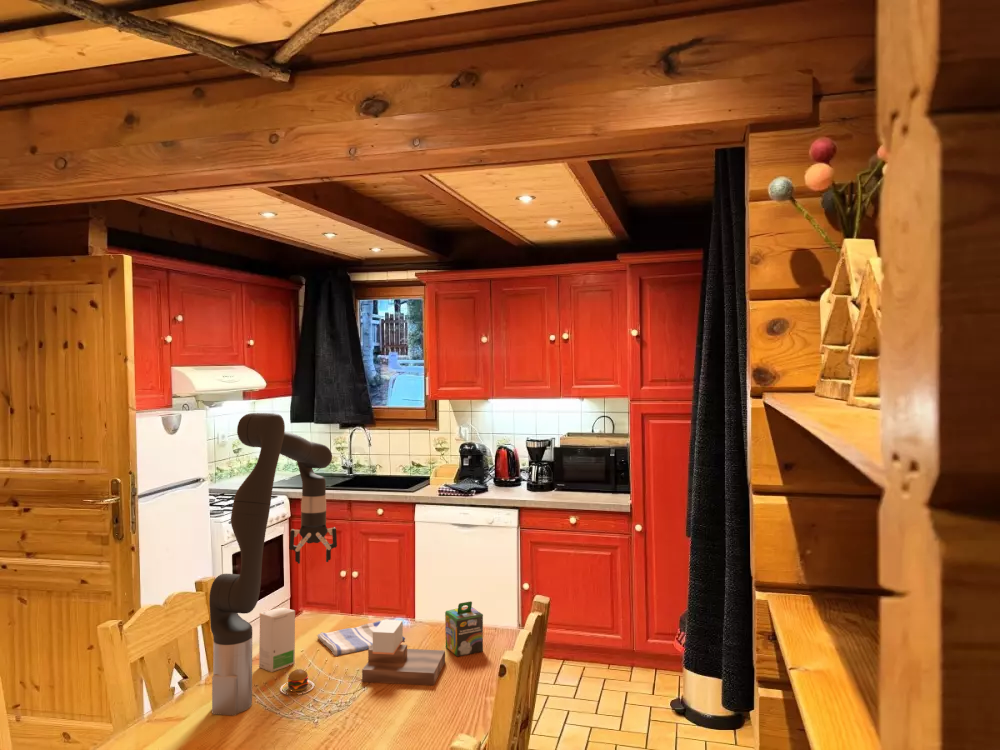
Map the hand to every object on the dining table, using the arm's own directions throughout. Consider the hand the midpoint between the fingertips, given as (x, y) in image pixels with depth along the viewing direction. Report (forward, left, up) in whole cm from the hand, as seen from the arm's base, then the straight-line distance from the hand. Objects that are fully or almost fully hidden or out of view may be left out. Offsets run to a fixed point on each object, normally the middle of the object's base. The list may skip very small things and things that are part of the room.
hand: (313, 562), depth 215 cm
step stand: (-14, -33, -26) cm, 44 cm away
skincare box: (-14, +5, -27) cm, 31 cm away
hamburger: (-28, -7, -27) cm, 40 cm away
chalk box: (+4, -47, -27) cm, 54 cm away
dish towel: (+8, -13, -27) cm, 31 cm away
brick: (-14, -28, -20) cm, 37 cm away
